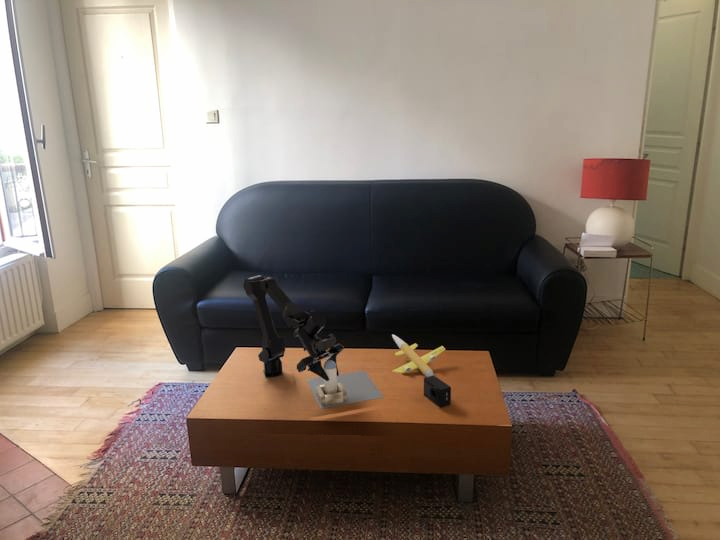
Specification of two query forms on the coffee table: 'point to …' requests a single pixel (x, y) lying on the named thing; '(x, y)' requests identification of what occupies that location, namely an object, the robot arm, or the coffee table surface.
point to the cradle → (331, 395)
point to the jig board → (350, 388)
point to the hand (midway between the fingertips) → (333, 378)
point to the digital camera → (437, 391)
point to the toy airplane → (415, 358)
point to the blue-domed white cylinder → (330, 377)
